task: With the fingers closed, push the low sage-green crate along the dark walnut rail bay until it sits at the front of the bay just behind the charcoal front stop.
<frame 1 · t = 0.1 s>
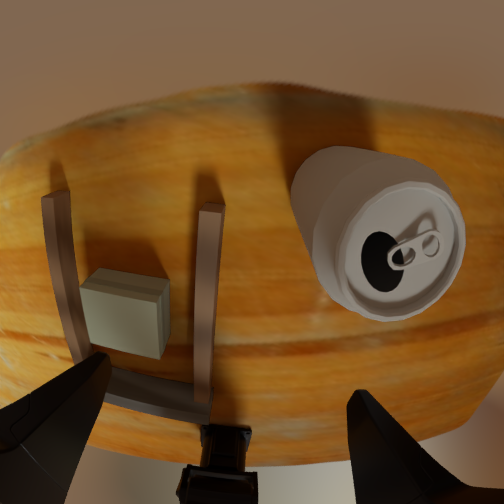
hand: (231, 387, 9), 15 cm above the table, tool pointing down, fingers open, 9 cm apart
crate: (135, 300, 26), resting in bay
can: (337, 193, 21), on the table
bay: (135, 310, 26), on the table
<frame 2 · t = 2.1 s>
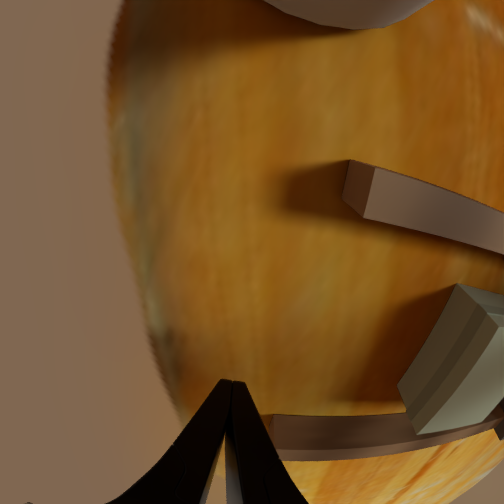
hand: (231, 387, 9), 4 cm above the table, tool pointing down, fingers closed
crate: (459, 340, 13), resting in bay
bay: (471, 343, 13), on the table
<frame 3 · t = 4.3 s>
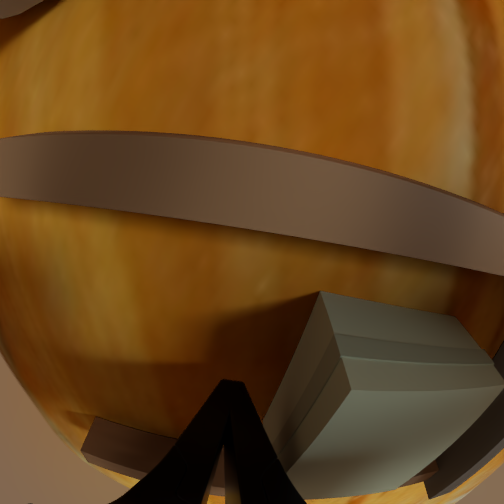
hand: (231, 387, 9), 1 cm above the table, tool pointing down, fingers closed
crate: (358, 377, 10), resting in bay, touching gripper
bay: (337, 380, 10), on the table
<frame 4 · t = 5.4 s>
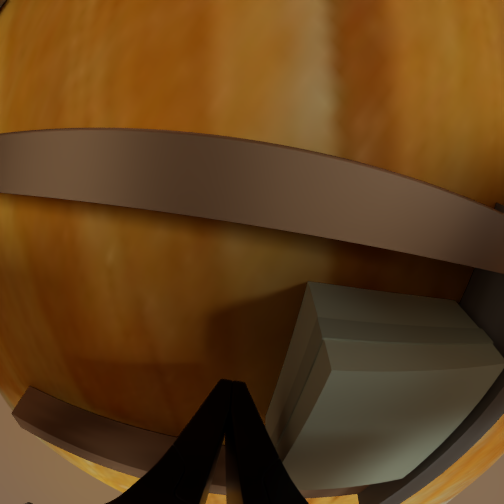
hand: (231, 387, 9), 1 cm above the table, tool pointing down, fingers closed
crate: (356, 364, 10), resting in bay
bay: (209, 364, 10), on the table
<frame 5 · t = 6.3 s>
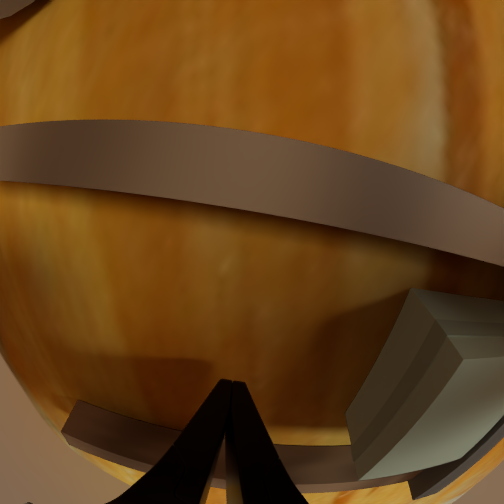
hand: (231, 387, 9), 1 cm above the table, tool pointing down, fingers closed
crate: (428, 359, 11), resting in bay
bay: (308, 368, 10), on the table
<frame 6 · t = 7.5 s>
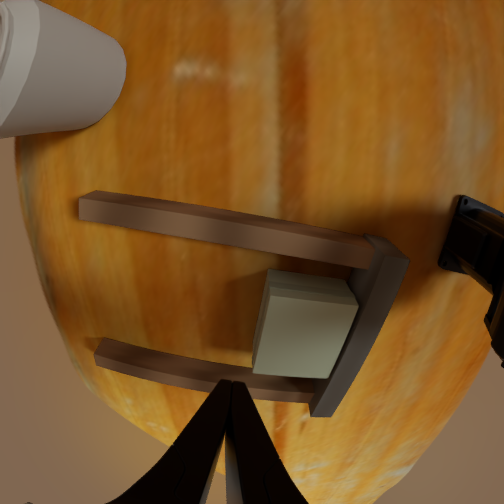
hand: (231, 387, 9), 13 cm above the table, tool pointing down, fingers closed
crate: (296, 311, 23), resting in bay
can: (88, 81, 16), on the table
bay: (224, 307, 23), on the table
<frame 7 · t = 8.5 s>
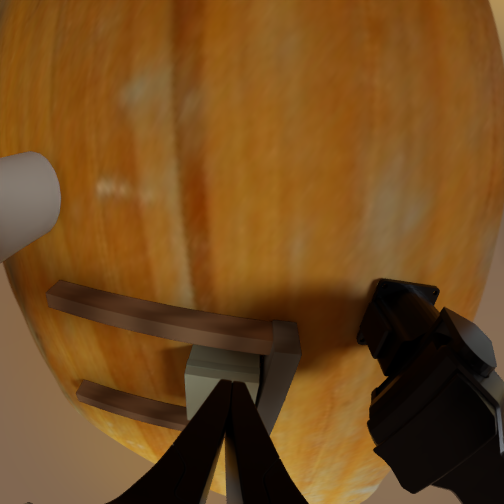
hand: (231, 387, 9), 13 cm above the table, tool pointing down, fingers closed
crate: (224, 373, 27), resting in bay
can: (38, 191, 20), on the table
bay: (166, 367, 26), on the table
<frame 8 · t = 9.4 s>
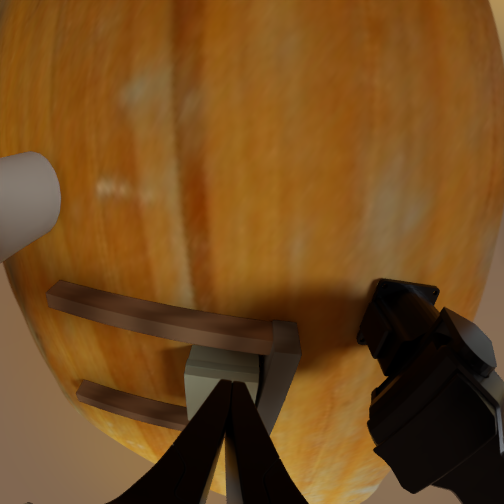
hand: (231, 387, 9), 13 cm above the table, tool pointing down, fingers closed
crate: (224, 373, 27), resting in bay
can: (38, 191, 20), on the table
bay: (166, 367, 26), on the table
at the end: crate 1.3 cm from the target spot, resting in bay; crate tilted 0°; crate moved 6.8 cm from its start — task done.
